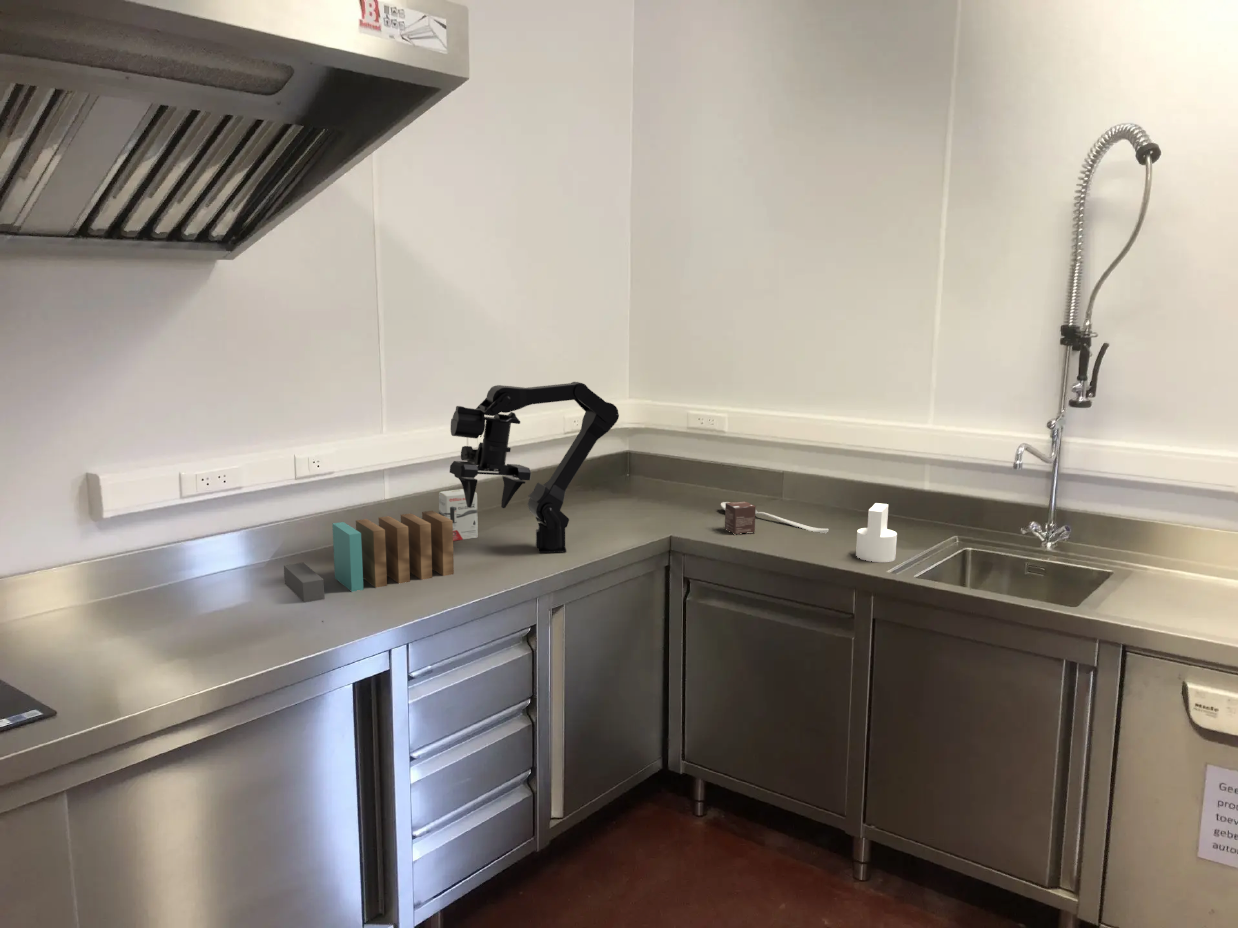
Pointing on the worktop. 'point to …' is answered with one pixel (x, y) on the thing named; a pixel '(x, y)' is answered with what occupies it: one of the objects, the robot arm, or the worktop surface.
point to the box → (740, 517)
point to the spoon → (787, 521)
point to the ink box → (459, 513)
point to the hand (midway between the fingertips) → (486, 507)
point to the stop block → (304, 582)
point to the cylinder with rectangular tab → (876, 537)
